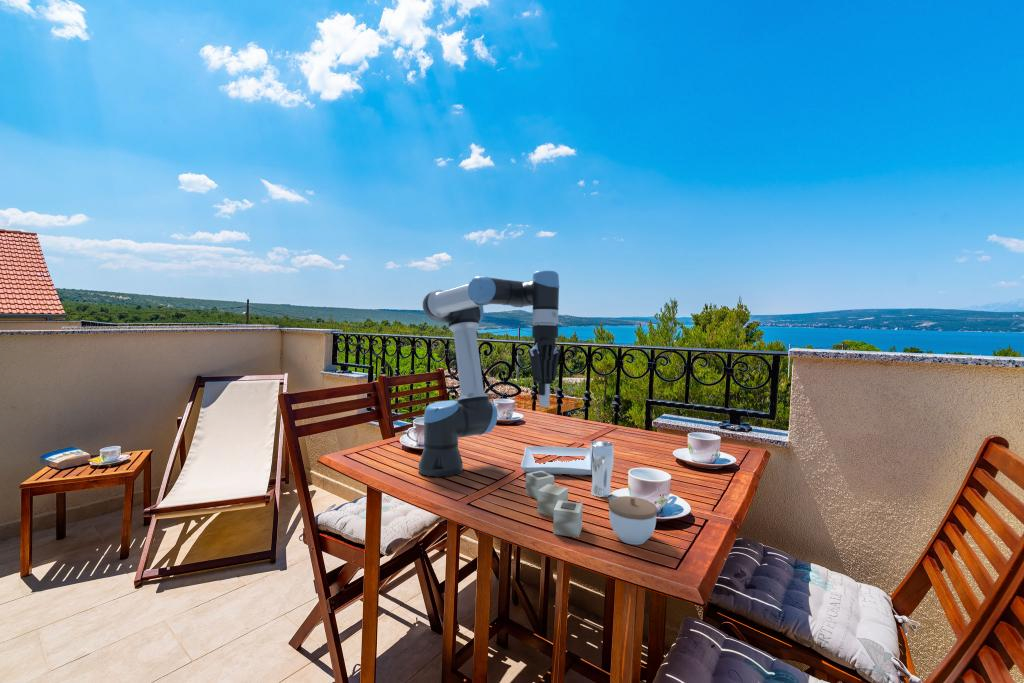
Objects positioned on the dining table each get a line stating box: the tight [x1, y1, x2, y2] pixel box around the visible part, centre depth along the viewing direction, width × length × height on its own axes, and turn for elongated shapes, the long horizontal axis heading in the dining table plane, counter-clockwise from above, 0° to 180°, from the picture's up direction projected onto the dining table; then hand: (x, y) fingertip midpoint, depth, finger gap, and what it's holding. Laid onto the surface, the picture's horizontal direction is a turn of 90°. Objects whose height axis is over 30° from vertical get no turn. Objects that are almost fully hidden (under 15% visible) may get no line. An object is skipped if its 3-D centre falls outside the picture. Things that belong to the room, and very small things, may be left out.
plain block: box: [536, 484, 569, 518], centre depth 108 cm, size 6×6×6 cm
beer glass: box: [589, 440, 615, 498], centre depth 121 cm, size 7×7×15 cm
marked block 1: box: [525, 471, 555, 501], centre depth 120 cm, size 6×6×6 cm
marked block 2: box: [552, 500, 584, 539], centre depth 98 cm, size 6×6×6 cm
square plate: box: [520, 446, 592, 476], centre depth 148 cm, size 27×27×4 cm
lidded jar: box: [608, 495, 658, 546], centre depth 94 cm, size 11×11×9 cm
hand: (544, 406), depth 118 cm, fingers closed
